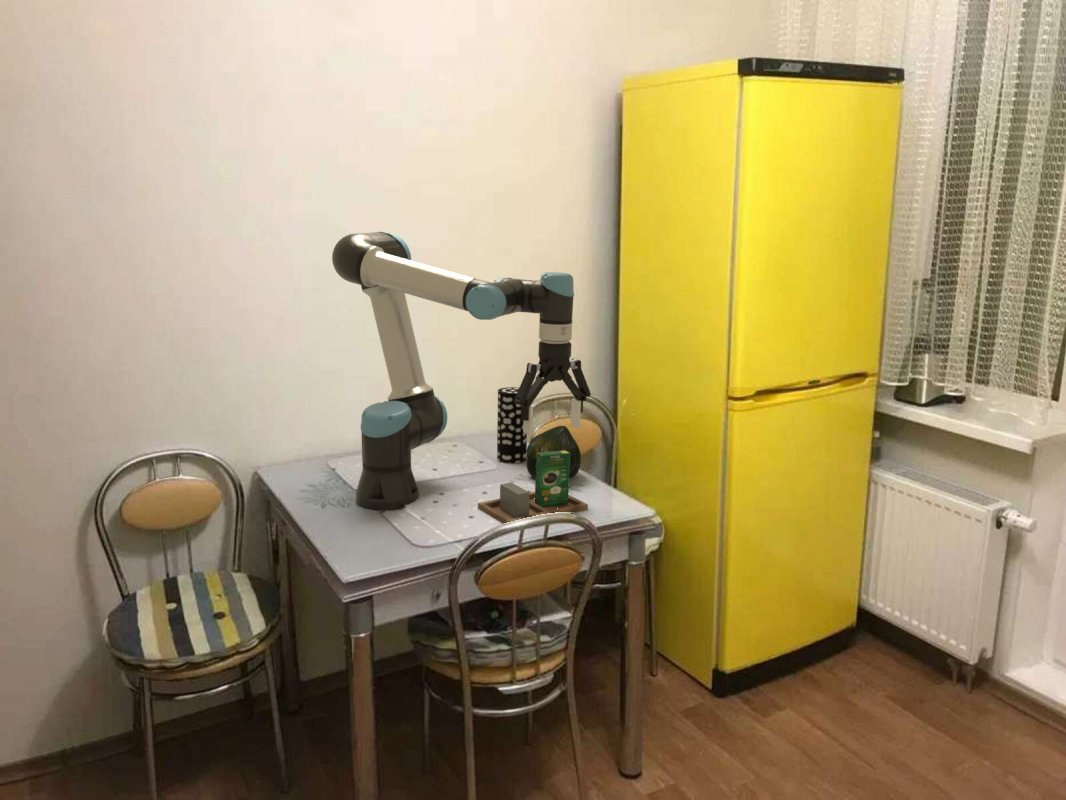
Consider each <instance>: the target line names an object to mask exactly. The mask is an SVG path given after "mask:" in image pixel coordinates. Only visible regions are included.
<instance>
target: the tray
mask: <svg viewBox="0 0 1066 800" xmlns="http://www.w3.org/2000/svg"><path fill="white" fill-rule="evenodd" d="M529 492H530V491H529ZM534 498H535V491H532V492H530V496H529V515H528V516H523V517H519V518H515V517H514V516H512V515H510V514H508V513H507V512H505V511H503V510H502V509H500V498H496V499H492V500H486V501H482V502H477V509H478V510H480V511H482V512H484V513H485V514H486V515H488V516H490V517H492V518H493V519H495V520H496V521H498V522H500V523H502V524H503V523H507V522H511V521H515V520H519V519H523V518H527V517H532V516H536V515H541V514H547V513H555V512H574V513H578V512H583V511H587V510H588V509H589V504H588V503H587V502H585V501H582V500H580V499H578V498H576V497H574V496H572V495H569V494H568V504H563V505H554V506H547V507H541V506H539V505H537V504H535V499H534ZM557 508H558V509H557Z"/></svg>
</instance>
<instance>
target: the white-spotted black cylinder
mask: <svg viewBox="0 0 1066 800" xmlns="http://www.w3.org/2000/svg"><path fill="white" fill-rule="evenodd" d="M518 390H519V387H517V386H516V387H515V386H514V387H513V386H510V387H508V386H507V387H501V388H499V389H497V435H496V436H497V438H496V439H497V440H496V441H497V443H496V445H497V446H496V448H497V449H496V460H497V461H498V462H501V463H503V464H520V463H523V462H525V461H526V462H527V447H528V446H527V445H528V443H527V441H528V439H527V438H528V434H526V433H524V432H523V423H524V420H522V419H521V405H518V404H516V403H514V399H515V396H516V394H517V392H518Z"/></svg>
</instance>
